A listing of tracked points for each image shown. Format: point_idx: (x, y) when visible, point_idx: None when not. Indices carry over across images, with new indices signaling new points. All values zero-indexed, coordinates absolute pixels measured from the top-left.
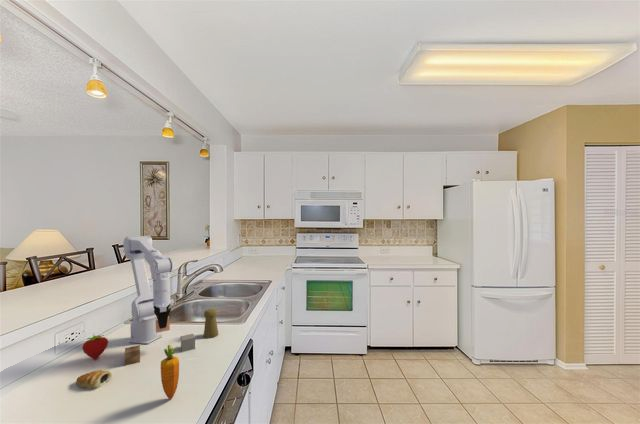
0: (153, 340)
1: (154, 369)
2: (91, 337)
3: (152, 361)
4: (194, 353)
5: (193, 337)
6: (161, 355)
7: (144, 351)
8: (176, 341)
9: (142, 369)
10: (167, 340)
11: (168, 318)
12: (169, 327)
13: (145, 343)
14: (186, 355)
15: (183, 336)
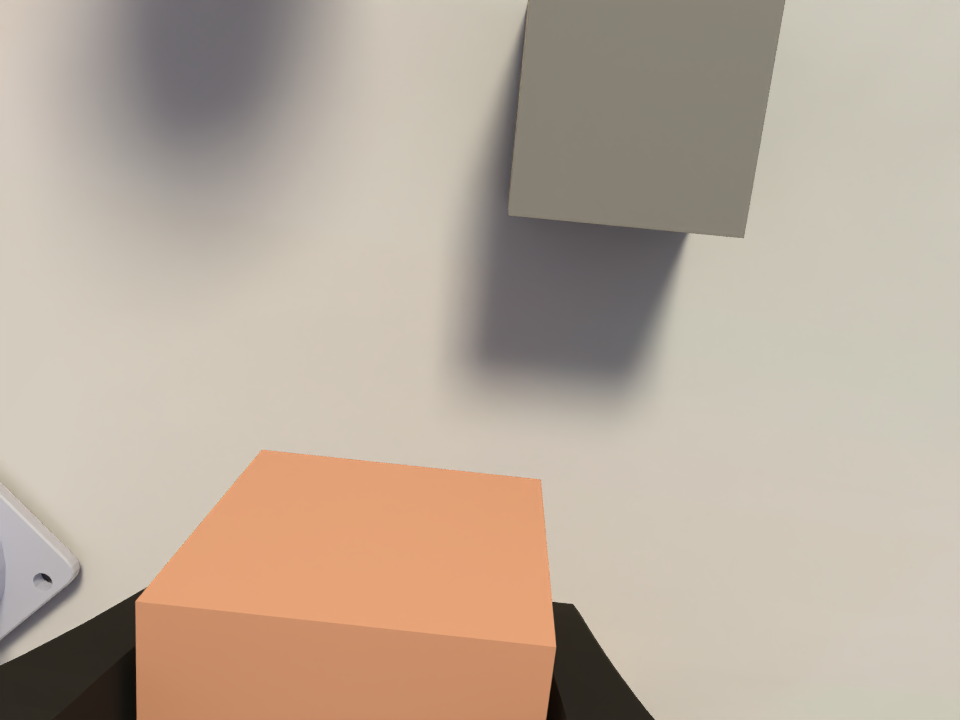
0: (6, 492)
1: (947, 600)
2: None
3: (700, 587)
4: (882, 74)
5: (760, 7)
6: (595, 474)
7: None
8: (213, 208)
9: (836, 699)
10: (87, 316)
11: (549, 671)
12: (542, 509)
13: (59, 591)
14: (857, 194)
15: (559, 171)
